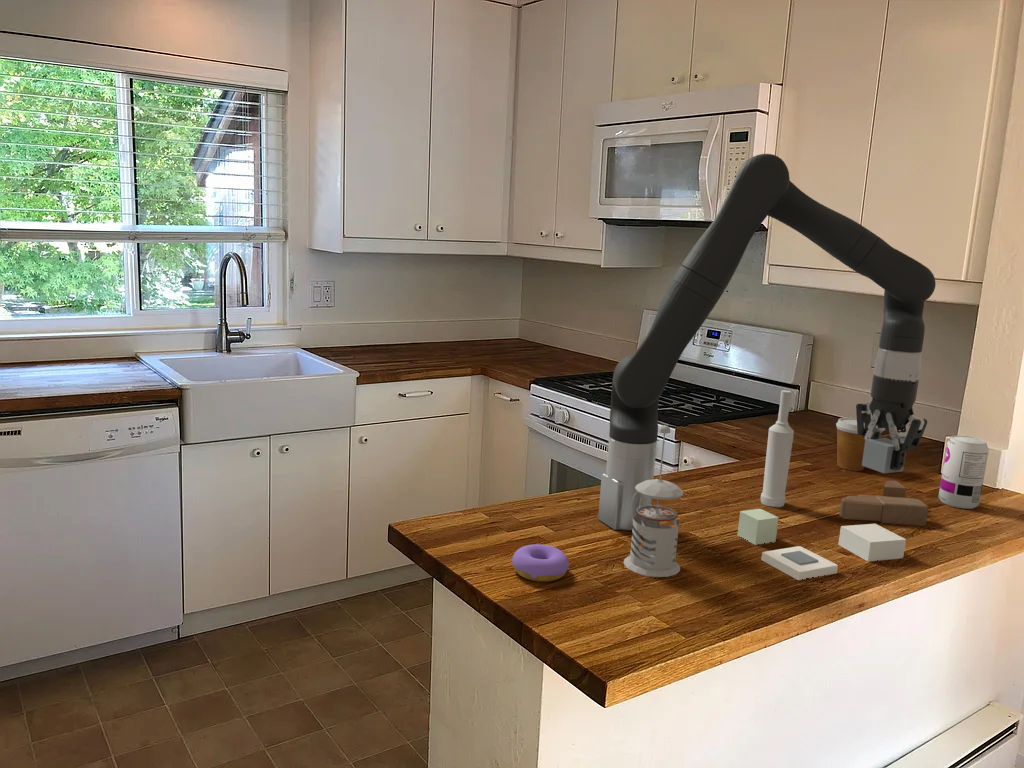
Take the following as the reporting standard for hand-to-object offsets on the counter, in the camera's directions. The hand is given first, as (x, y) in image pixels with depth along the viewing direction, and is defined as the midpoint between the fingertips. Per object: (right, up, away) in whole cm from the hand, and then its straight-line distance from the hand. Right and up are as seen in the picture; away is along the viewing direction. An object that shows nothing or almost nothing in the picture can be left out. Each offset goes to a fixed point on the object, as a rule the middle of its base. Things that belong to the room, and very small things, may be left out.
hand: (882, 464), depth 153 cm
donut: (-64, -17, -14) cm, 67 cm away
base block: (-1, -17, +3) cm, 17 cm away
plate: (-18, -17, -6) cm, 25 cm away
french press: (-44, -17, -8) cm, 48 cm away
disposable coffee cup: (+18, -7, +59) cm, 63 cm away
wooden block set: (+10, -13, +28) cm, 32 cm away
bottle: (-12, -11, +27) cm, 32 cm away
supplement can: (+33, -12, +35) cm, 49 cm away
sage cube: (-21, -15, +6) cm, 27 cm away
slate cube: (0, -1, 0) cm, 1 cm away
